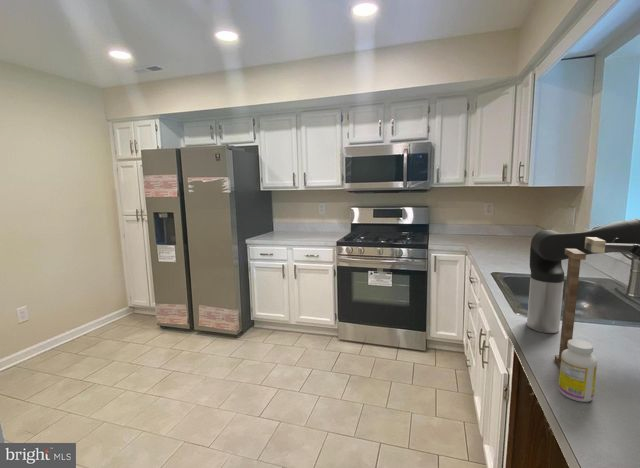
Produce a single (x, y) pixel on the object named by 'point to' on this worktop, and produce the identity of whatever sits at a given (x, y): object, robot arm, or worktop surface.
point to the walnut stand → (570, 299)
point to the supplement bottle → (578, 371)
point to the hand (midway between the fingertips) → (622, 244)
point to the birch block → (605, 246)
